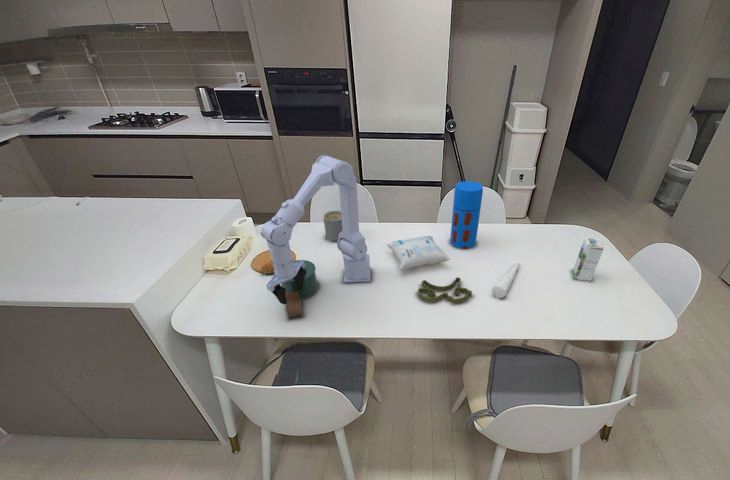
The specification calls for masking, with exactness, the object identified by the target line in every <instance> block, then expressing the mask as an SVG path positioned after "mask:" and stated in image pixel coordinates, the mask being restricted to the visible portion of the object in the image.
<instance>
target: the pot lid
mask: <svg viewBox="0 0 730 480" xmlns="http://www.w3.org/2000/svg"><path fill="white" fill-rule="evenodd" d="M299 260H301V261H304V264H305V267H304V268H303V269H305V270H306V272H307V273H306V275H305V278H304V280H305V279H307V278H309V277H311V276H312V275H313V274H314V272H315V273H316V265H315V264H314V263H313V262H312V261H310V260H305V259H295V260H293V262H294V263H295V262H297V261H299ZM286 282H294V280H293V278H292V279H290V280H287V281H286Z"/></svg>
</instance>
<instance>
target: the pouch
mask: <svg viewBox="0 0 730 480" xmlns="http://www.w3.org/2000/svg"><path fill="white" fill-rule="evenodd" d="M385 246H387V247H388V248H389V250H391V251H392V253H393V254H394V255H395V257H396V258H397V260H398V263H399V269H400V270H401V269H402V270H405V269H413V268H418V267H423V266H429V265H434V264H440V263H444V262H447V261H451V257H450V256H448V255H447V254H446V253H445V251H443V250H442V249H441V248H440V247H439V246H438V245H437V244H436V242H435V241H434V239H433V236H431V235H425V236H423V235H422V236H417V237H411V238H403V239H399V240H395V241H394V240H393V241H392V242H391V241H390V242H389V243H386V244H385Z"/></svg>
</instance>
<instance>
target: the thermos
mask: <svg viewBox="0 0 730 480" xmlns="http://www.w3.org/2000/svg"><path fill="white" fill-rule="evenodd" d="M453 191H454V193H453V204H452V215H451V228H450V245H452V246H453V247H455V248H456V249H461V250H469V249H472V248H474V247H475V245H476V242H477V237H478V230H479V223H480V216H481V215H480V214H481V207H482V200H483V193H484V187H483V184H481V183H479V182H477V181H470V180H469V181H468V180H465V181H464V180H463V181H459V182H457V183H456V184H455V186H454V190H453Z"/></svg>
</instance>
